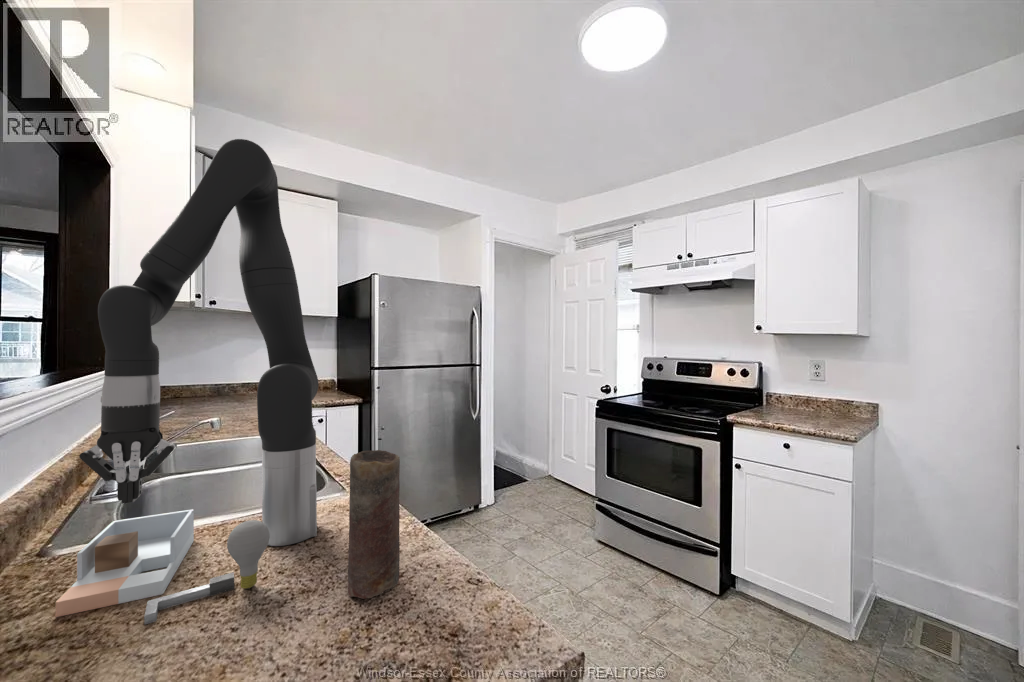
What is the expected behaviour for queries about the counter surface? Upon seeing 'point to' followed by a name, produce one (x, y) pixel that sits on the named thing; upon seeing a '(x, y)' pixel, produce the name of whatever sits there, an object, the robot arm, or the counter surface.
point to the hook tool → (188, 596)
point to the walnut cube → (116, 551)
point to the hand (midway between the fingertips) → (129, 501)
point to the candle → (373, 523)
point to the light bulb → (248, 549)
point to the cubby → (157, 548)
